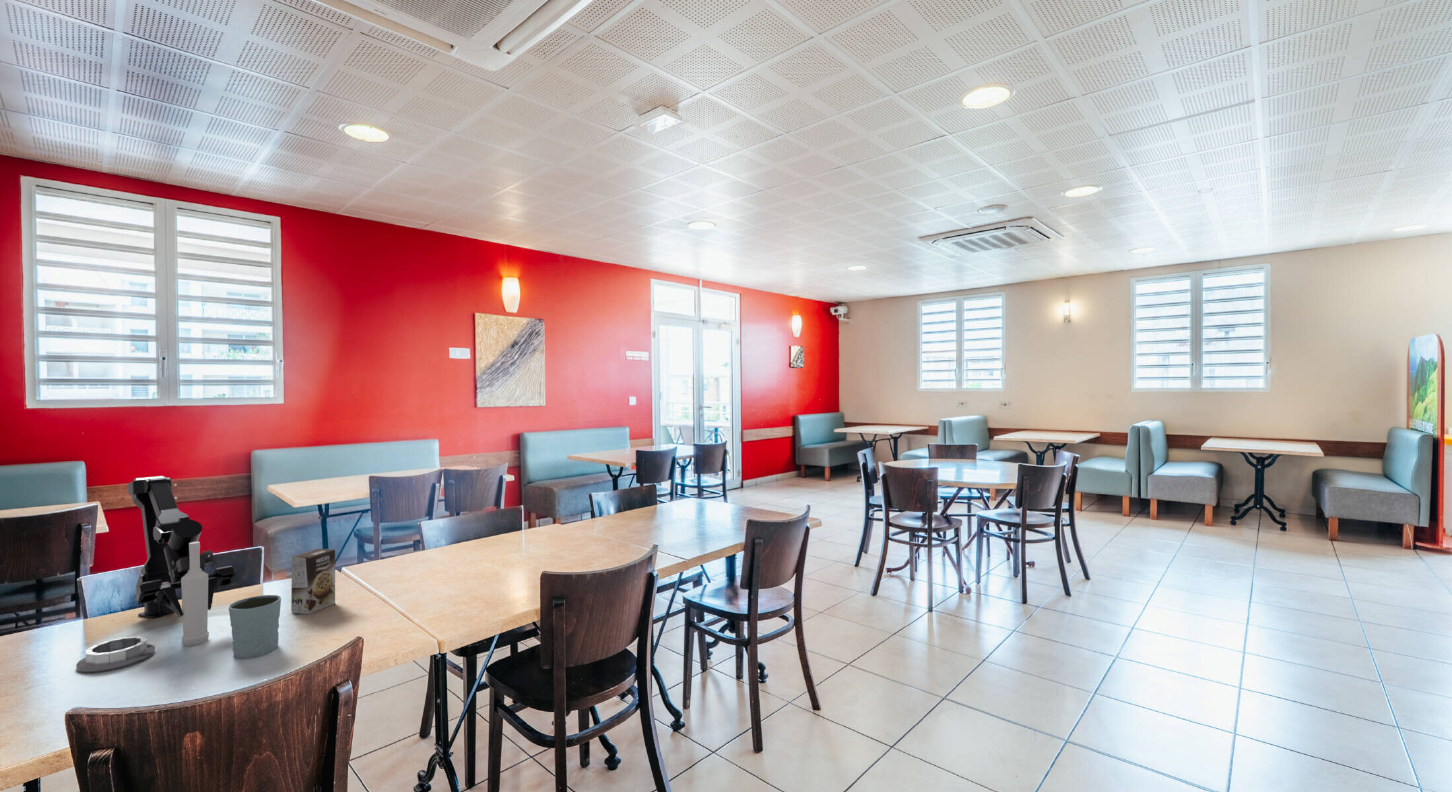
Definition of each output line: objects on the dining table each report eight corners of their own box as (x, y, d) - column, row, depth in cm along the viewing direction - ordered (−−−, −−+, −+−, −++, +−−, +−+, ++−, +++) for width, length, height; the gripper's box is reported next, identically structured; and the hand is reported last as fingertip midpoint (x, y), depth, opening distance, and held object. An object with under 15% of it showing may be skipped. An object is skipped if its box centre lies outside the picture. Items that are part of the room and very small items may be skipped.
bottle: (178, 648, 149) (177, 546, 148) (185, 640, 154) (184, 541, 153) (205, 644, 151) (204, 543, 151) (211, 636, 156) (210, 539, 155)
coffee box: (309, 614, 171) (309, 557, 170) (290, 612, 172) (290, 556, 172) (336, 603, 180) (336, 549, 179) (318, 601, 181) (317, 547, 181)
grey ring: (61, 669, 138) (60, 654, 137) (129, 645, 150) (129, 631, 150) (103, 676, 135) (103, 660, 134) (169, 651, 147) (169, 636, 147)
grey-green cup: (239, 663, 141) (239, 612, 141) (221, 653, 146) (221, 603, 146) (289, 647, 150) (288, 599, 149) (270, 638, 155) (270, 591, 155)
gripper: (138, 550, 147) (151, 605, 141) (233, 535, 162) (249, 584, 156) (130, 576, 152) (142, 631, 146) (224, 559, 167) (238, 608, 161)
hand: (195, 612), depth 152 cm, fingers closed on bottle, 5 cm apart
